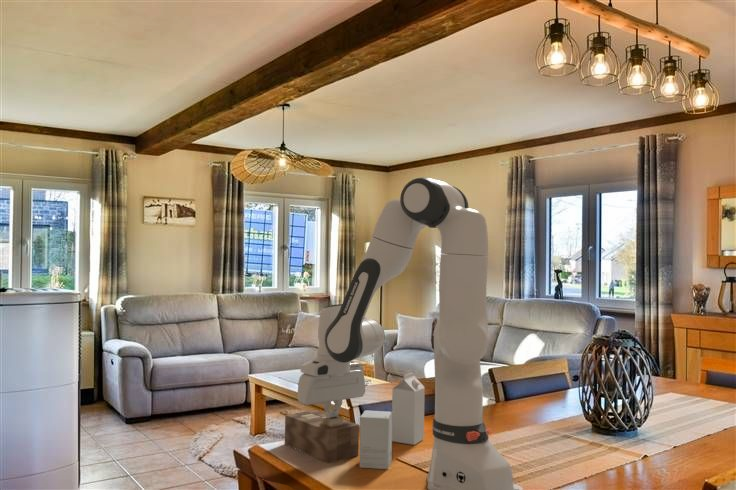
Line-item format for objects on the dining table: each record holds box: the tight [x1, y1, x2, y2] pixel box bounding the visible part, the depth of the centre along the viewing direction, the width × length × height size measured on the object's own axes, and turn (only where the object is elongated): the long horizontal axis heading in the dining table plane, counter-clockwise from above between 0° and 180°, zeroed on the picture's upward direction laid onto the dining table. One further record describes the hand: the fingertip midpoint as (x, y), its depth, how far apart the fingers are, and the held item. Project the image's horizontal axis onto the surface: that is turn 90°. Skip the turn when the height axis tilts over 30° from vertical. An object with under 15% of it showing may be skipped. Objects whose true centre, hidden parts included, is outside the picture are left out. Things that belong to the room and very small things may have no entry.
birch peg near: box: [322, 416, 344, 427], centre depth 162 cm, size 4×4×7 cm
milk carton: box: [391, 372, 426, 446], centre depth 176 cm, size 7×7×19 cm
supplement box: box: [359, 409, 393, 470], centre depth 154 cm, size 7×7×13 cm
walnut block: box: [284, 409, 360, 464], centre depth 165 cm, size 20×10×8 cm, turn 40°
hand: (331, 417), depth 162 cm, fingers closed
